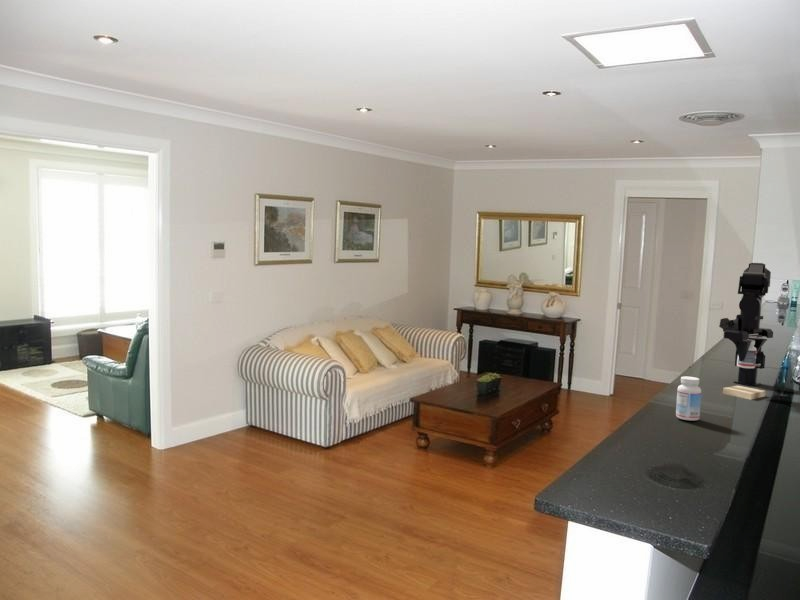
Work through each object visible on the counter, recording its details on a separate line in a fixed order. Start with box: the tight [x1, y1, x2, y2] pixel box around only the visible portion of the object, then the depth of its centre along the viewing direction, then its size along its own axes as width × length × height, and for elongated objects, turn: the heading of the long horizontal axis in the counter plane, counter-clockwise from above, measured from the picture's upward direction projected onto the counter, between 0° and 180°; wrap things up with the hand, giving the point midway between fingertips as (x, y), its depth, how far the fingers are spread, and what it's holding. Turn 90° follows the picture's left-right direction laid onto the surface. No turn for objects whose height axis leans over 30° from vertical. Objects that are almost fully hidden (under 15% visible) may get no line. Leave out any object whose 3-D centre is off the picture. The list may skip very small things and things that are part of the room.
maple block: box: [722, 385, 766, 401], centre depth 206 cm, size 9×9×2 cm
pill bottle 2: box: [736, 339, 757, 368], centre depth 205 cm, size 5×5×9 cm
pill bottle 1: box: [675, 375, 702, 422], centre depth 175 cm, size 6×6×11 cm
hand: (746, 360), depth 206 cm, fingers closed on pill bottle 2, 5 cm apart
